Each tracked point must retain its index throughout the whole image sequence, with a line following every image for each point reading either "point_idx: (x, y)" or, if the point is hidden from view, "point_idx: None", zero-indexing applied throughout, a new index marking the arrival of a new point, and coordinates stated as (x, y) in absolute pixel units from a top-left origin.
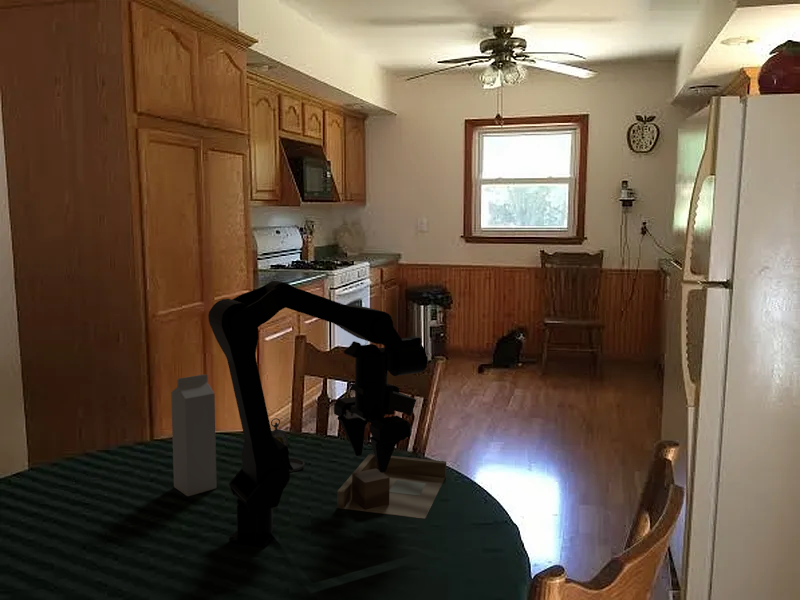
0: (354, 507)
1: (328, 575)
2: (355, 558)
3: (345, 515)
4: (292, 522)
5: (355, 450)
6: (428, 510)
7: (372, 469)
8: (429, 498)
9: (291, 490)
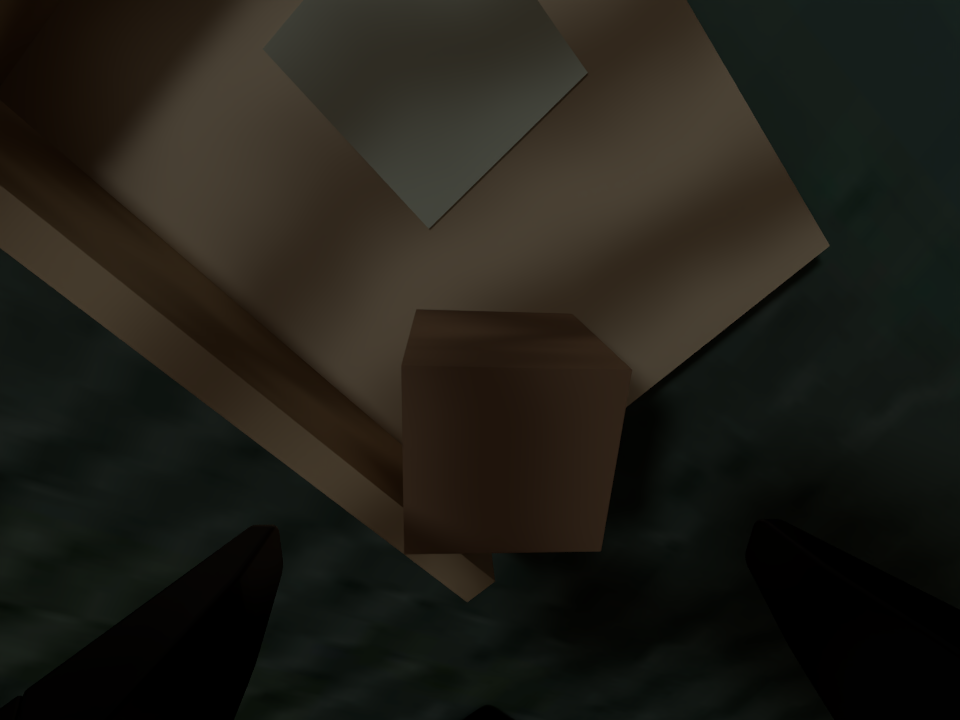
0: None
1: None
2: None
3: None
4: (448, 662)
5: (260, 633)
6: (777, 164)
7: (408, 402)
8: (662, 36)
9: (135, 588)
